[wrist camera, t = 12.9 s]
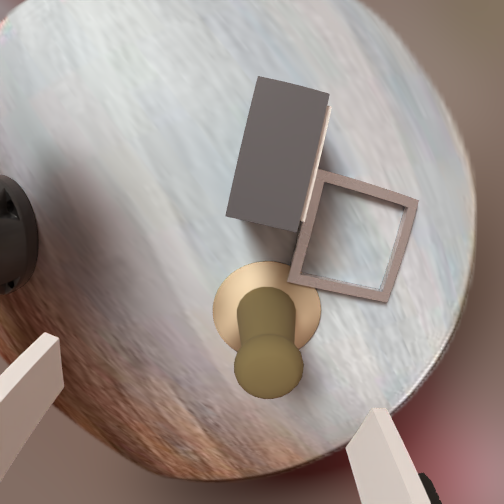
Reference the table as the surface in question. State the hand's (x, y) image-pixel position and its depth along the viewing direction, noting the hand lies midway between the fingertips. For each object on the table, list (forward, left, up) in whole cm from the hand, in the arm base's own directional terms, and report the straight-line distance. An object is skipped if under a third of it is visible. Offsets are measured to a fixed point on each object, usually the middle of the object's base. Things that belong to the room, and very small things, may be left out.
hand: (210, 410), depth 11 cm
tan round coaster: (+4, -5, -20) cm, 21 cm away
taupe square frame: (+10, +5, -20) cm, 23 cm away
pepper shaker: (+4, -5, -20) cm, 21 cm away
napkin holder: (+1, +10, -20) cm, 23 cm away
